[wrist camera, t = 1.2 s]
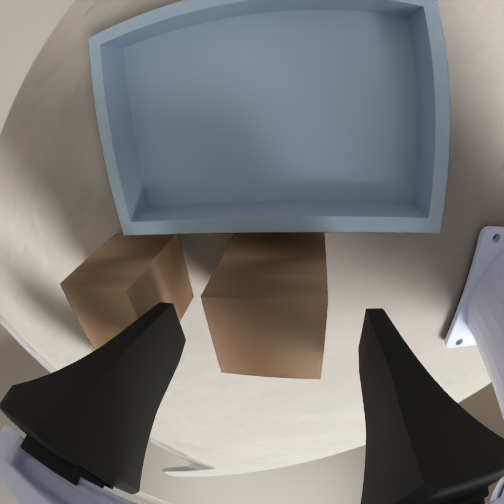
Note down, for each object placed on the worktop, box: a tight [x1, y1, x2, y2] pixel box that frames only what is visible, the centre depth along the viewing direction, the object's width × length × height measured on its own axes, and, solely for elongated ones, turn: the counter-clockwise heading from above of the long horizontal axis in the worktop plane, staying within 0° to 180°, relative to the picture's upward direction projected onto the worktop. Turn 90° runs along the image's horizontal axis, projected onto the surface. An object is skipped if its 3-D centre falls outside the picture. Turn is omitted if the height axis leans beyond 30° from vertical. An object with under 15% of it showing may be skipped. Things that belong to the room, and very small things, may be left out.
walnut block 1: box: [60, 234, 194, 349], centre depth 13 cm, size 4×4×5 cm
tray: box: [88, 0, 450, 235], centre depth 9 cm, size 13×9×2 cm
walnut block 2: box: [201, 232, 328, 379], centre depth 12 cm, size 4×4×5 cm
